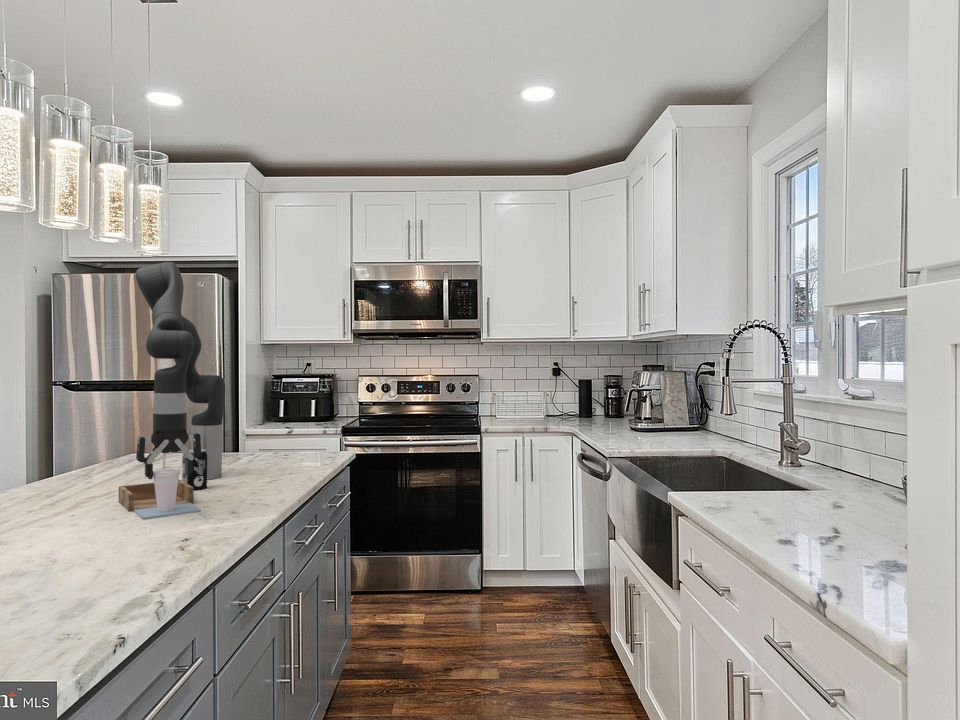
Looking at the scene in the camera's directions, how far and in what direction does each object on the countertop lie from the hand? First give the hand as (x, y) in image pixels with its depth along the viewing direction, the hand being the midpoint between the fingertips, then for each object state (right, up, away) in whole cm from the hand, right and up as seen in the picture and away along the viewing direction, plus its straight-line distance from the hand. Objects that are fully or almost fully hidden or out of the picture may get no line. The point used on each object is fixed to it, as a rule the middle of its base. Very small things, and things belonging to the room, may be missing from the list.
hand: (169, 476), depth 154 cm
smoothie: (-1, -8, 0) cm, 8 cm away
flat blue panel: (-3, -9, +3) cm, 10 cm away
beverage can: (-6, -10, +28) cm, 30 cm away
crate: (-8, -9, +9) cm, 15 cm away
